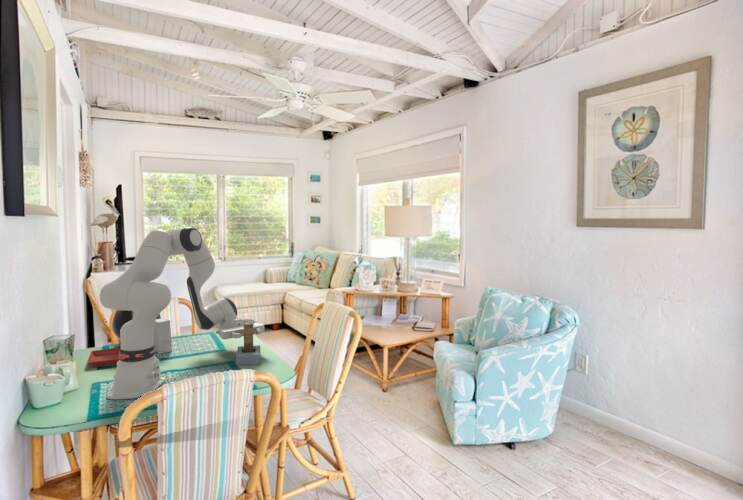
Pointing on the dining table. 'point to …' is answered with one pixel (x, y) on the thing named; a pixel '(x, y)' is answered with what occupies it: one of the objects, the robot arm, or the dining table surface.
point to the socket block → (248, 356)
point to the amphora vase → (122, 321)
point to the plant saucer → (103, 357)
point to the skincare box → (162, 335)
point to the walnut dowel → (248, 337)
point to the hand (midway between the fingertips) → (249, 334)
